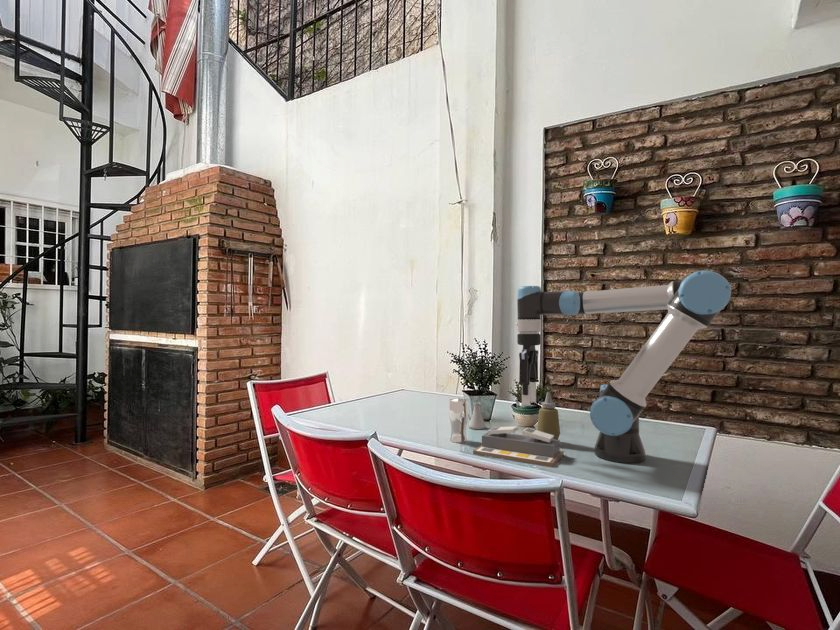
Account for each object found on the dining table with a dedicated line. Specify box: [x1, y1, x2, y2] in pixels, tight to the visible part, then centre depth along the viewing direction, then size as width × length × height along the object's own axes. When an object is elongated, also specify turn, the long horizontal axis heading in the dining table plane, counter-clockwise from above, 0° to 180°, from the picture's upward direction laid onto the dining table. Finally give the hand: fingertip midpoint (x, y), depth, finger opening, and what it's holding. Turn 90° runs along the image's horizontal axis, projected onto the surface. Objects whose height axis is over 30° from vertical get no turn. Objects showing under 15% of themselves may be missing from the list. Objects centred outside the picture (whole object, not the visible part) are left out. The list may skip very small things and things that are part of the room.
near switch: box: [521, 427, 554, 443], centre depth 150 cm, size 9×5×1 cm, turn 60°
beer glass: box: [448, 397, 469, 444], centre depth 167 cm, size 7×7×15 cm
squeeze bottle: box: [536, 392, 561, 440], centre depth 165 cm, size 8×8×18 cm
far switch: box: [487, 425, 519, 434], centre depth 156 cm, size 9×5×1 cm, turn 60°
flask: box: [468, 402, 487, 430], centre depth 187 cm, size 7×7×10 cm
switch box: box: [472, 432, 565, 468], centre depth 151 cm, size 26×14×6 cm, turn 60°
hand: (529, 403), depth 151 cm, fingers open, 6 cm apart
